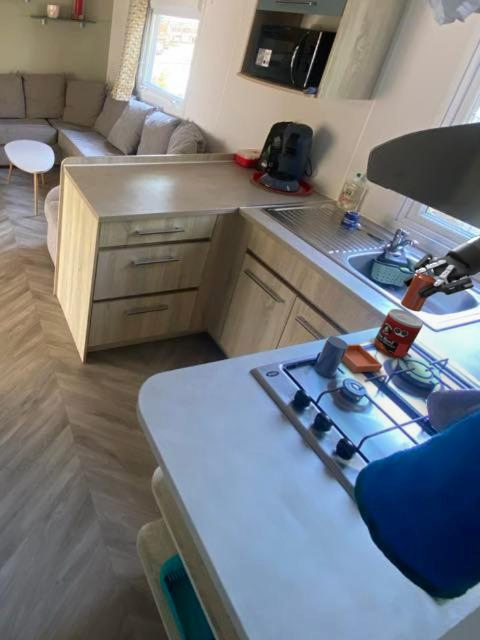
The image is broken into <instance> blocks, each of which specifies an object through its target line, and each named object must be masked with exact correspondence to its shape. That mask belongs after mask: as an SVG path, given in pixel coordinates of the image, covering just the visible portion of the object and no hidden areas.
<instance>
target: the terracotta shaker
mask: <svg viewBox="0 0 480 640" xmlns="http://www.w3.org/2000/svg"><path fill="white" fill-rule="evenodd" d="M436 281H437V279H436V278H435V277H431V276H429V275H426V274H425V273H416V274H415V275H414V277H413V279H412V281H411V283H410V285H409V287H407V289H406V291H405V293H404V295H403V297H402V299H401V300H400V304H401V306H402V307H403V308H405V309H407V310H409V311H413V312H416V313H417V312H421V311H422V310H423V307H424V306H425V304H426V302H427V301H428V298H421V297H420V296H419V294H418V291H420V290H422V289H424V288H425V287H427V286H429V285H431V284H432V285H434V283H435V282H436Z"/></svg>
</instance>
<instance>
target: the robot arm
mask: <svg viewBox="0 0 480 640" xmlns="http://www.w3.org/2000/svg"><path fill="white" fill-rule="evenodd" d="M412 268H413V271H414V273H412V274H410V275H408V276H407V277H405V278H404V279H403V281H402V282H403V284H404V286H405V287H407V288H408V287H409V285H410V283H411V281H412V279H413V277H414V275H415V274H416V273H423V274H426V275H429V276H431V277H433V278H436V277H438V278H437V279H436V282H435V283H434V285H432V284H431V285H429V286H427V287H425V288H424V289H422V290H420V291H418V294H419V296H420V297H421V298H427V299H428V298H429V297H432V296H434V295H436V294H437V293H442V294H444V295H446V296H450V295H454V294H456V293H460V292H463V291H465V290H466V291H467V290H470V289H473V288H474V287H475V285H474V282H473V280H472V278H471V277H473V276H475V275H477V274H479V273H480V234H478V235H475V236H473V237H471V238H470V239H468V240H466V241H463V242H462V243H460V244H458V245H457V246H455V247H453V248H452V249H450V250H448V252H447V253H446V254H445V255H443V256H439V257H436V256H433V254H432V253H431V252H429V253H426V254H425V255H424V256H422V258H420V259H419V260H418V261H417V262H416V263H415V264H414V265H413V266H412ZM470 276H471V277H470Z"/></svg>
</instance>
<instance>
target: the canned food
mask: <svg viewBox="0 0 480 640" xmlns="http://www.w3.org/2000/svg"><path fill="white" fill-rule="evenodd" d="M423 326H424V322H423V321H422V319H421V318H419V317H418V316H417V315H415V314H412V313H411V312H408V311H406V310H403V309H399V308H391V309H389V311H388V313H387V314H386V316H385V318H384V320H383V322H382V324H381V326H380V328H379V330H378V332H377V334H376V336H375V338H374V341H373V343H374V344H373V345H374V346H375V347H376V349H378V350H379V351H380V352H381V353H383V354H385V355H387V356H389V357H391V358H396V359H397V358H398V359H400V358H399V357H402V358H405V356H407V355H408V353H409V352H410V349H411V347H412V346H413V344H414V342H415V341H416V339H417V337H418V335H419V334H420V332H421V331H422V328H423Z"/></svg>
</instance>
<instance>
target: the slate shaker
mask: <svg viewBox="0 0 480 640" xmlns="http://www.w3.org/2000/svg"><path fill="white" fill-rule="evenodd" d="M348 345H349V344H348V343H347V342H346V341H345V340H343V339H342V338H340V337H338V336H335V335H330V336H328V337H327V338H326V341H325V342H324V345H323V347H322V349H321V352H320V354H319V355H318V357H317V360H316V362H315V365H314V369H315V370H316V372H317V373H318V374H320V375H321V376H323V377H326V378H334V377H335V376H336V373H337V371H338V369H339V367H340V365H341V363H342V362H343V361H342V359H343V357H344V355H345V353H346V351H347V349H348Z"/></svg>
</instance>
